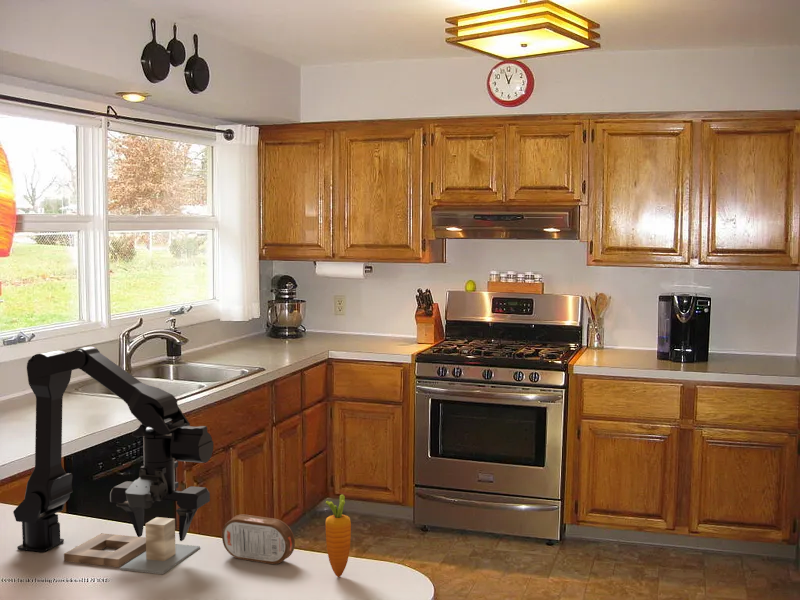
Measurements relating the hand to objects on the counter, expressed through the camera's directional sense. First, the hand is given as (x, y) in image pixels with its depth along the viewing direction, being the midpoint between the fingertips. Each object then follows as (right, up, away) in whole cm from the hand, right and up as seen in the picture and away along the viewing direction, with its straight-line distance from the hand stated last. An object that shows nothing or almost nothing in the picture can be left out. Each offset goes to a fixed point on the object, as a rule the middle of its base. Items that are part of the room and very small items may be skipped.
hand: (160, 538), depth 164 cm
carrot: (+35, -5, -9) cm, 37 cm away
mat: (0, -4, 0) cm, 4 cm away
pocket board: (-11, -4, +3) cm, 12 cm away
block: (0, -4, 0) cm, 4 cm away
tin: (+19, -4, -1) cm, 19 cm away
